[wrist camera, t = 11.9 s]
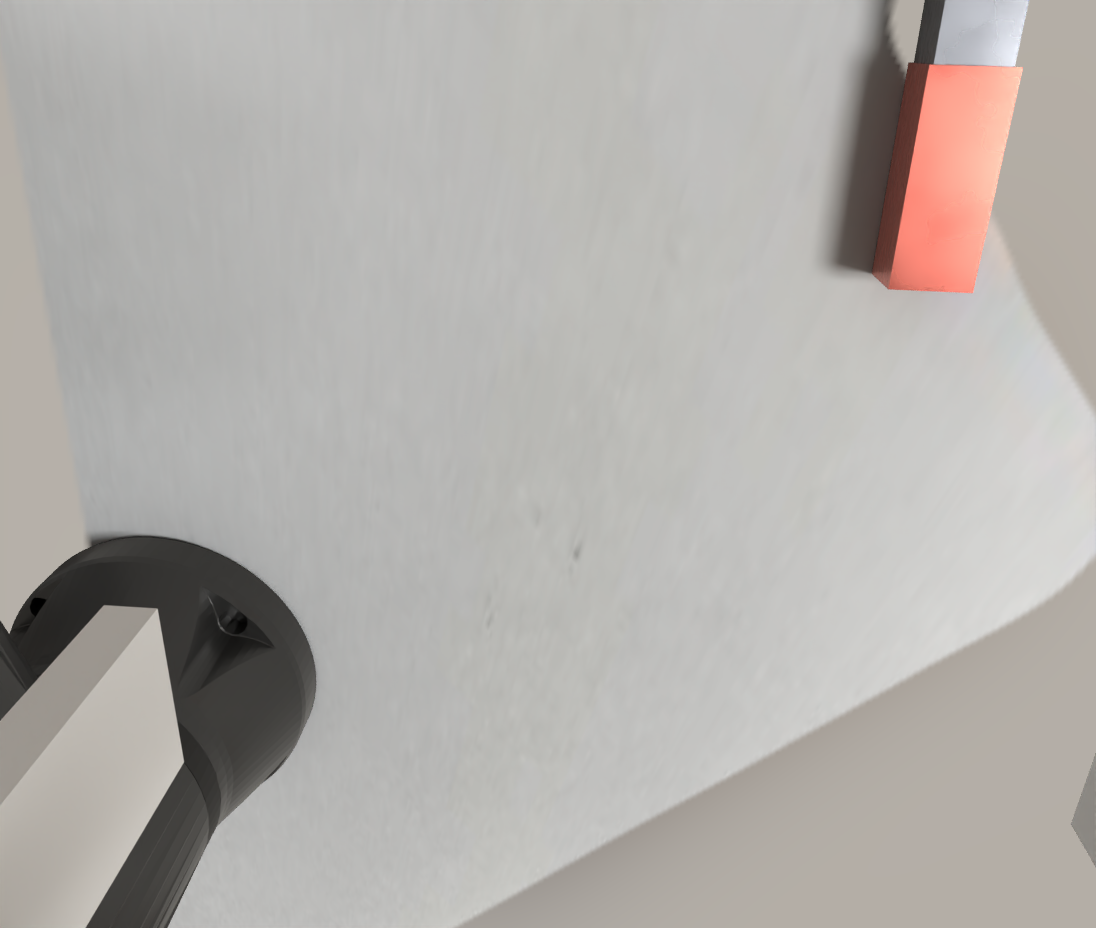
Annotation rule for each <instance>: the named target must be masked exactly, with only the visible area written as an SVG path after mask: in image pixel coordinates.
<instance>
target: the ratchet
mask: <svg viewBox="0 0 1096 928" xmlns="http://www.w3.org/2000/svg"><path fill="white" fill-rule="evenodd" d="M1028 3H1029V0H925V3H924V9H923V14H922V20H921V26H920V31H919V37H918V43H917V48H916V54H915V61H914V63H908V69H907V74H906V80H905V86H904V92H903V97H902V103H901V109H900V115H899V120H898V126H897V132H896V138H895V143H894V149H893V155H892V160H891V166H890V172H889V178H888V183H887V189H886V195H885V201H884V206H883V212H882V218H881V224H880V229H879V235H878V241H877V247H876V252H875V258H874V264H873V270H872V274H873V275H874V276H875V277H876V278H877V279H878V280H879V281H880V282H881V283H882V284H883V285H884V286H885V287H887V288H888V289H895V290H917V291H940V292H963V293H973V289H974V285H975V280H976V276H977V271H978V267H979V262H980V258H981V253H982V249H983V244H984V240H985V235H986V231H987V226H988V222H989V217H990V213H991V208H992V204H993V199H994V194H995V190H996V186H997V181H998V177H999V172H1000V167H1001V163H1002V159H1003V153H1004V150H1005V145H1006V140H1007V136H1008V131H1009V127H1010V122H1011V118H1012V113H1013V109H1014V104H1015V100H1016V95H1017V91H1018V86H1019V81H1020V77H1021V73H1022V67H1015V63H1016V58H1017V54H1018V49H1019V45H1020V40H1021V35H1022V31H1023V26H1024V21H1025V17H1026V13H1027V8H1028Z"/></svg>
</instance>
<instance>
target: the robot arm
mask: <svg viewBox="0 0 1096 928" xmlns="http://www.w3.org/2000/svg"><path fill="white" fill-rule="evenodd" d="M315 692H316V671H315V664H314V659H313V655H312V652H311V649H310V646H309V643H308V641H307V638H306V636H305V634H304V632H303V630H302V628H301V626H300V625H299V623H298V621H297V620H296V618H295V617H294V615H293V614H292V612H291V611H290V610H289V608H288V607H287V606H286V605H285V603H284V602H283V601H282V600H281V599H280V598H279V597H278V596H277V594H276V593H274V592H273V591H272V590H271V589H270V588H269V587H268V586H267V585H266V584H265V583H263V582H262V581H261V580H260V579H259V578H257V577H256V576H255V575H253V574H252V573H251V572H249V571H248V570H246V569H245V568H243V567H241V566H240V565H238V564H236V563H235V562H233V561H231V560H229V559H227V558H225V557H223V556H221V555H219V554H217V553H214V552H212V551H210V550H207V549H204V548H201V547H198V546H195V545H191V544H188V543H184V542H179V541H175V540H168V539H160V538H126V539H118V540H113V541H108V542H105V543H101V544H98V545H95V546H92V547H90V548H88V549H85V550H83V551H81V552H79V553H78V554H76V555H74V556H72V557H71V558H70V559H68V560H67V561H65V562H64V563H63V564H62V565H61V566H59V567H58V568H57V569H56V570H55V571H54V572H53V573H52V574H51V575H50V576H49V577H48V578H47V579H46V580H45V581H44V582H43V583H42V584H41V585H40V586H39V587H38V588H37V589H36V590H35V591H34V592H33V593H32V594H31V595H30V597H29V598H28V599H27V601H26V602H25V604H24V605H23V606H22V608H21V610H20V611H19V613H18V615H17V617H16V619H15V621H14V624H13V626H12V629H11V631H10V634H9V633H8V632H7V630H6V629H5V627H4V626H3V624H2V623H1V621H0V928H167V927H168V925H169V923H170V921H171V919H172V917H173V915H174V913H175V911H176V909H177V906H178V904H179V902H180V900H181V898H182V896H183V894H184V892H185V890H186V888H187V886H188V884H189V881H190V879H191V877H192V875H193V873H194V871H195V869H196V867H197V865H198V863H199V861H200V859H201V856H202V854H203V852H204V850H205V848H206V846H207V844H208V842H209V840H210V838H211V836H212V834H213V833H214V831H215V829H216V827H217V826H218V825H219V824H220V823H221V822H222V821H223V820H224V819H225V818H226V817H227V816H228V815H229V814H230V813H231V812H232V811H234V810H235V809H236V808H237V807H238V806H239V805H240V804H241V803H242V802H243V801H244V800H245V799H246V798H247V797H248V796H249V795H250V794H251V793H252V792H253V791H254V790H255V789H256V788H257V787H258V786H259V785H260V784H261V783H263V782H264V781H265V780H267V779H268V778H269V777H270V776H272V775H273V774H274V773H275V772H276V771H277V770H278V769H279V768H280V767H281V766H282V765H283V764H284V762H285V761H286V760H287V758H288V757H289V755H290V754H291V753H292V751H293V749H294V748H295V746H296V744H297V742H298V740H299V738H300V735H301V733H302V731H303V729H304V727H305V724H306V722H307V720H308V718H309V716H310V713H311V710H312V707H313V703H314V699H315ZM1071 825H1072V827H1073V828H1074V830H1075V832H1076V834H1077V835H1078V837H1079V839H1080V841H1081V842H1082V844H1083V846H1084V848H1085V849H1086V851H1087V853H1088V855H1089V856H1090V858H1091V860H1092V862H1093V863H1094V865H1095V867H1096V754H1095V757H1094V760H1093V763H1092V765H1091V769H1090V771H1089V774H1088V777H1087V780H1086V783H1085V786H1084V788H1083V792H1082V794H1081V797H1080V800H1079V803H1078V806H1077V809H1076V811H1075V814H1074V817H1073V820H1072V823H1071Z"/></svg>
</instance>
